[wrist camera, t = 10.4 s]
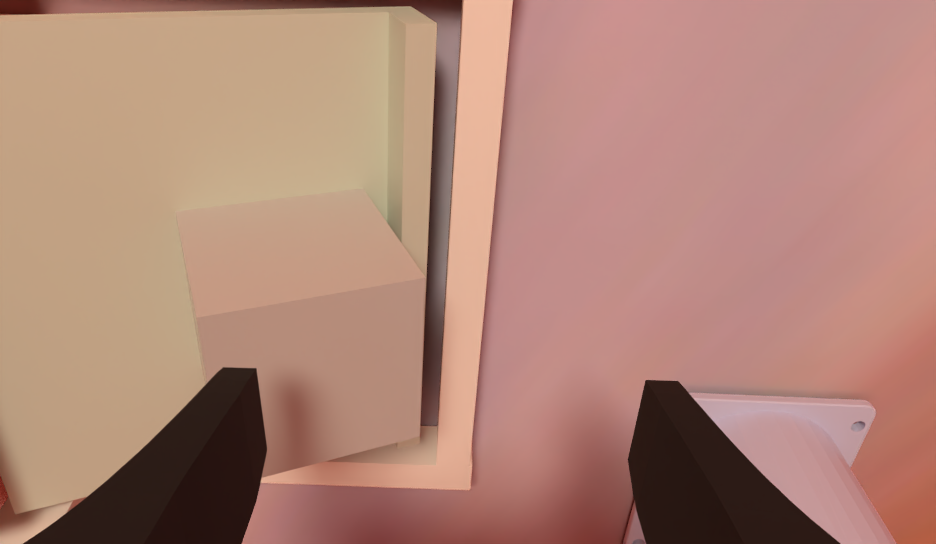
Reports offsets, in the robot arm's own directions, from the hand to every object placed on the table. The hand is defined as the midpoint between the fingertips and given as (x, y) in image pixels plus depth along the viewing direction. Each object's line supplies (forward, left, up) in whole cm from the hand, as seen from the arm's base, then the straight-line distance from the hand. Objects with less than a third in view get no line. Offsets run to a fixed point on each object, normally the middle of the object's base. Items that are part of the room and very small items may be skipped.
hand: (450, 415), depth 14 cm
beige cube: (-2, +5, -8) cm, 9 cm away
